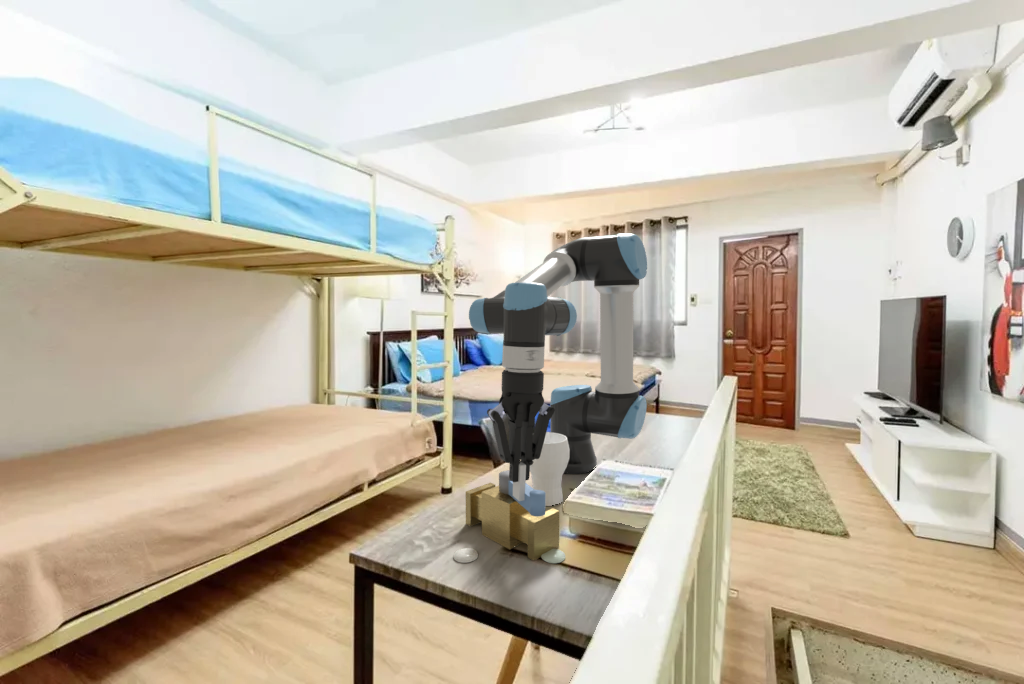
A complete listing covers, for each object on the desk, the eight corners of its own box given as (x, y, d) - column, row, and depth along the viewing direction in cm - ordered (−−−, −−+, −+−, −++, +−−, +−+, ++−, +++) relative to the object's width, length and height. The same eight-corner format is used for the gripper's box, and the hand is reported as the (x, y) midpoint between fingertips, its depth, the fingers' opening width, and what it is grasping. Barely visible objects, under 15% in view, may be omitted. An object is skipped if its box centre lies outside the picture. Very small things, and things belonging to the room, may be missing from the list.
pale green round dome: (551, 547, 85) (551, 546, 85) (570, 556, 82) (570, 555, 82) (536, 556, 82) (536, 554, 82) (554, 566, 78) (554, 564, 78)
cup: (567, 511, 100) (567, 445, 99) (520, 507, 102) (520, 442, 101) (570, 492, 111) (571, 432, 110) (528, 489, 113) (528, 430, 112)
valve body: (463, 524, 94) (463, 483, 93) (492, 512, 99) (492, 474, 99) (532, 561, 80) (532, 514, 79) (560, 545, 85) (561, 500, 85)
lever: (495, 487, 90) (495, 470, 90) (515, 484, 92) (515, 467, 92) (530, 518, 77) (530, 498, 76) (552, 513, 79) (552, 493, 78)
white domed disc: (467, 547, 85) (467, 545, 85) (482, 556, 82) (482, 554, 82) (448, 556, 82) (448, 554, 82) (463, 565, 79) (463, 564, 79)
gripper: (499, 373, 74) (495, 512, 75) (564, 371, 80) (559, 500, 81) (482, 367, 81) (478, 495, 82) (543, 366, 86) (538, 485, 88)
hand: (518, 497), depth 82 cm, fingers closed
